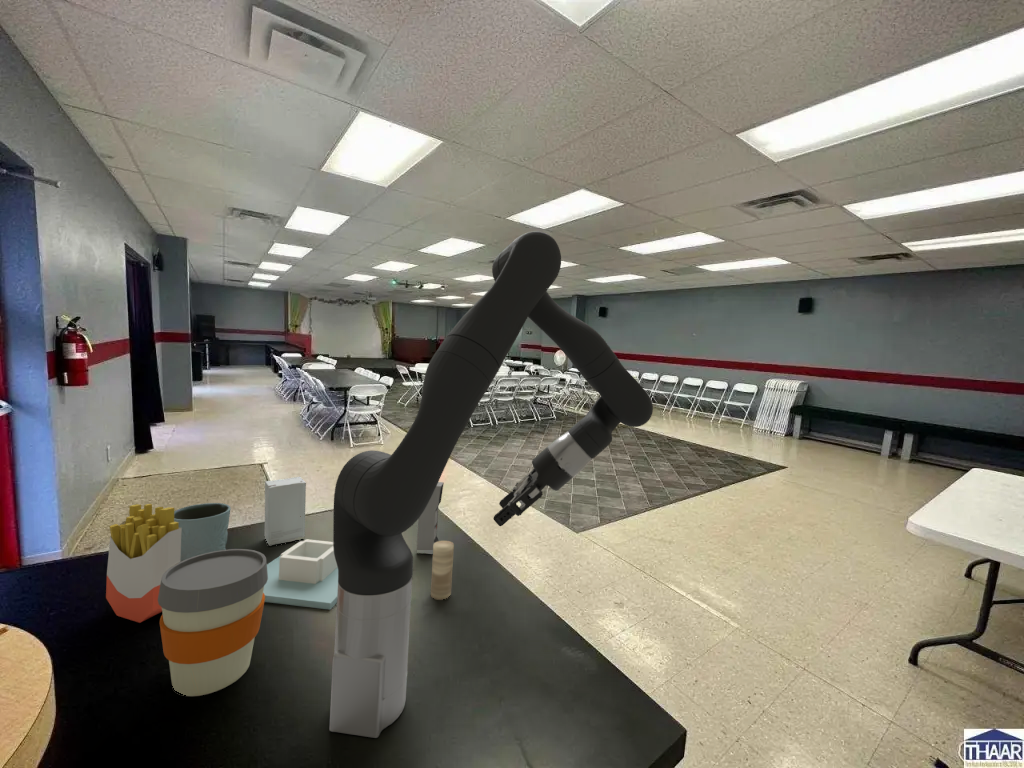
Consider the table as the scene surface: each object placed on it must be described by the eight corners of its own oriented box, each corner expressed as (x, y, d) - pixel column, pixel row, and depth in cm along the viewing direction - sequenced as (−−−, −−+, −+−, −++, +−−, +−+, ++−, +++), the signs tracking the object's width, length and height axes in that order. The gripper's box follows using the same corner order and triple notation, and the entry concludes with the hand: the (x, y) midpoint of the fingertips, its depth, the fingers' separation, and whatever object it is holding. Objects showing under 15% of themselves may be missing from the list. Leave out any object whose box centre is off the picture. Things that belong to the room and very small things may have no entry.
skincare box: (299, 532, 107) (302, 475, 107) (305, 540, 102) (308, 481, 102) (262, 539, 102) (264, 479, 101) (266, 548, 97) (269, 485, 97)
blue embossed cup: (239, 558, 91) (241, 505, 91) (201, 581, 81) (203, 521, 81) (197, 554, 92) (199, 500, 92) (153, 576, 82) (155, 516, 82)
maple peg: (448, 601, 80) (451, 550, 80) (428, 598, 80) (430, 547, 80) (453, 590, 84) (455, 541, 84) (433, 588, 84) (436, 539, 84)
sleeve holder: (330, 609, 75) (331, 578, 75) (227, 597, 77) (228, 567, 76) (376, 560, 95) (378, 535, 95) (294, 551, 97) (295, 527, 96)
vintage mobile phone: (437, 555, 99) (442, 451, 98) (416, 554, 99) (421, 450, 98) (440, 548, 103) (445, 448, 102) (419, 547, 103) (425, 447, 102)
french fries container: (149, 627, 67) (153, 518, 66) (102, 613, 70) (106, 508, 69) (178, 612, 71) (182, 509, 71) (133, 599, 74) (137, 500, 74)
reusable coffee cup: (246, 631, 67) (250, 541, 67) (278, 670, 60) (283, 568, 59) (144, 672, 58) (148, 566, 57) (167, 725, 50) (172, 603, 49)
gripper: (549, 439, 86) (491, 489, 88) (548, 452, 72) (480, 511, 74) (573, 466, 86) (515, 516, 88) (577, 485, 72) (508, 544, 73)
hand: (499, 514), depth 81 cm, fingers open, 8 cm apart
